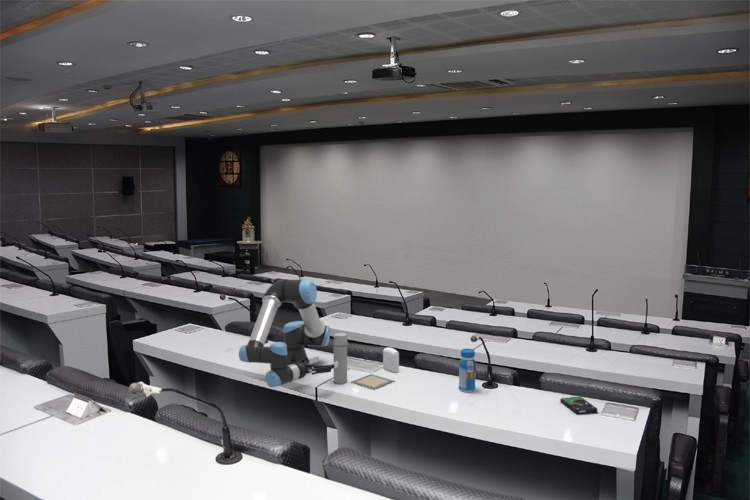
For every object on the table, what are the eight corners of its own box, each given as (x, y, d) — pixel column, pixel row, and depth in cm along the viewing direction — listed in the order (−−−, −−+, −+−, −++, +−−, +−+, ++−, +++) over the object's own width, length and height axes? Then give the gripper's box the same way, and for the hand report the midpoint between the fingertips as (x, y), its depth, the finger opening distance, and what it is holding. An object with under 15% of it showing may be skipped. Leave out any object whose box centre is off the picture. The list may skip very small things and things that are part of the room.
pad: (350, 382, 281) (350, 381, 281) (371, 374, 293) (371, 373, 293) (374, 390, 271) (374, 389, 271) (394, 381, 283) (394, 380, 283)
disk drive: (597, 414, 244) (580, 401, 258) (598, 408, 244) (580, 395, 258) (576, 416, 242) (559, 402, 257) (576, 410, 242) (559, 397, 256)
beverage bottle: (455, 390, 270) (456, 351, 268) (461, 385, 278) (462, 346, 276) (472, 393, 267) (473, 353, 264) (477, 388, 274) (478, 349, 272)
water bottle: (346, 385, 278) (345, 336, 275) (331, 383, 279) (330, 335, 277) (350, 379, 287) (350, 332, 284) (335, 377, 288) (335, 331, 286)
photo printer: (381, 368, 304) (382, 346, 302) (387, 367, 307) (387, 345, 305) (394, 373, 296) (394, 351, 295) (400, 371, 299) (400, 349, 297)
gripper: (278, 373, 267) (310, 363, 283) (313, 385, 251) (345, 374, 267) (278, 358, 266) (310, 349, 282) (313, 369, 250) (345, 359, 266)
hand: (327, 361), depth 275 cm, fingers open, 13 cm apart
